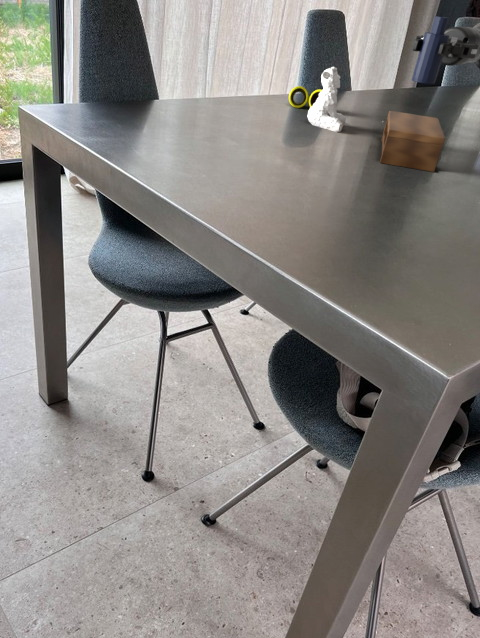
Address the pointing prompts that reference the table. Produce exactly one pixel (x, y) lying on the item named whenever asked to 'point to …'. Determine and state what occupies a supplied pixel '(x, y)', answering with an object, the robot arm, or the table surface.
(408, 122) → the wooden block
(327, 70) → the seated beast figurine
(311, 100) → the opera glasses
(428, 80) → the bottle
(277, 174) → the table surface
